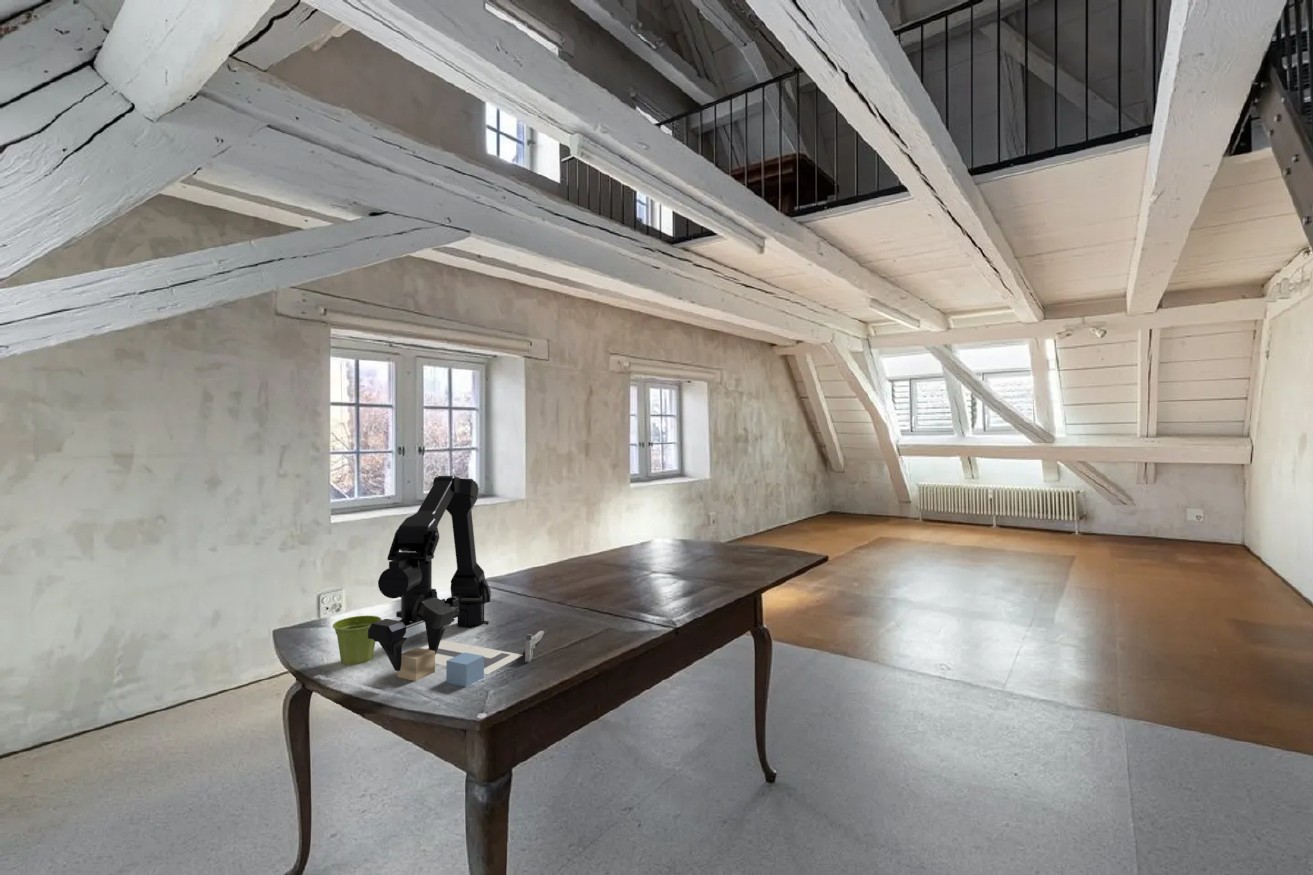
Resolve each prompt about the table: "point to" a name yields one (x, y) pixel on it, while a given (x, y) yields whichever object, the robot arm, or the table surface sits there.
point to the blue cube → (465, 669)
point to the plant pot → (355, 639)
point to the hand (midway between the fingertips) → (415, 662)
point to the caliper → (532, 644)
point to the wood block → (417, 664)
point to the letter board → (491, 656)
